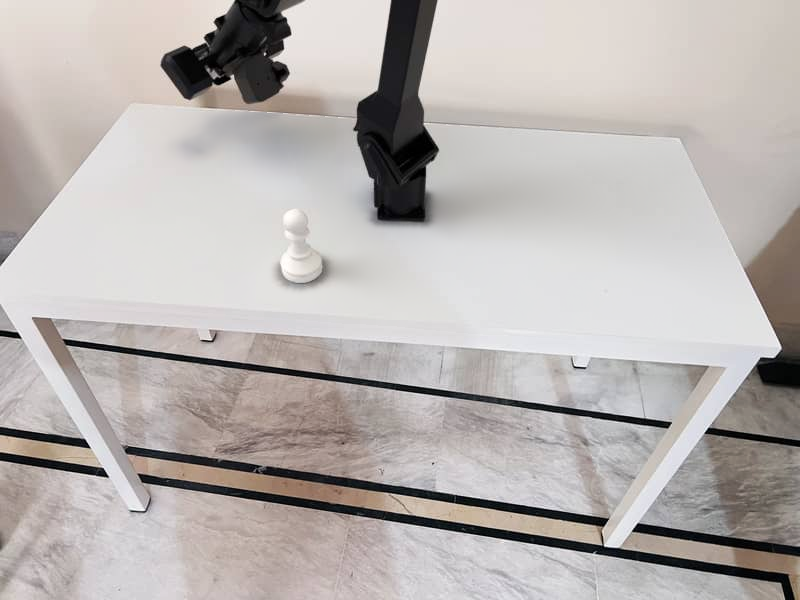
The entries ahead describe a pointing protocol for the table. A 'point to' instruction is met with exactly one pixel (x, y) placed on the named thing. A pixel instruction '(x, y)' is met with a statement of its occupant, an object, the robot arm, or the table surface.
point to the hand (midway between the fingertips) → (207, 80)
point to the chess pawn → (299, 250)
